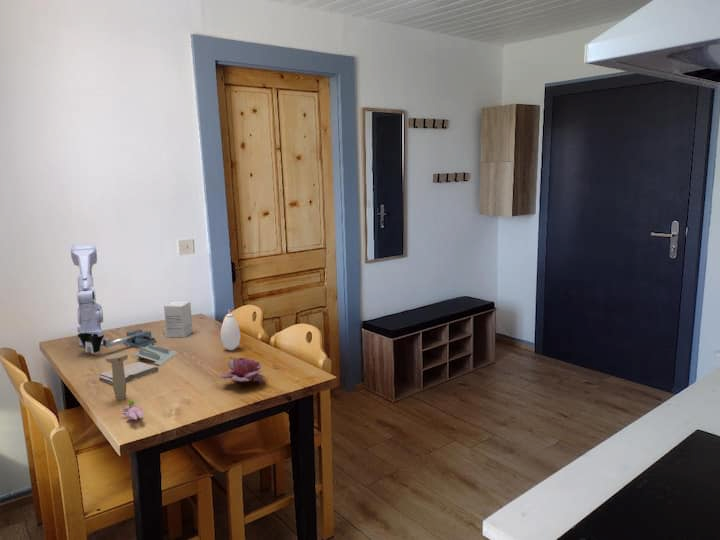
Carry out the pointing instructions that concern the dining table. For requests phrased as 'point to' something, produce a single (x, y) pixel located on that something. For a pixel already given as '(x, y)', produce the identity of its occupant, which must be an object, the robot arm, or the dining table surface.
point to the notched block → (89, 347)
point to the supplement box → (178, 319)
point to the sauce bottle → (230, 332)
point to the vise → (133, 339)
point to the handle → (118, 374)
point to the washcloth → (130, 372)
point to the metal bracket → (156, 354)
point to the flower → (244, 370)
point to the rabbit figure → (132, 411)
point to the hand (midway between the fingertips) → (92, 350)
